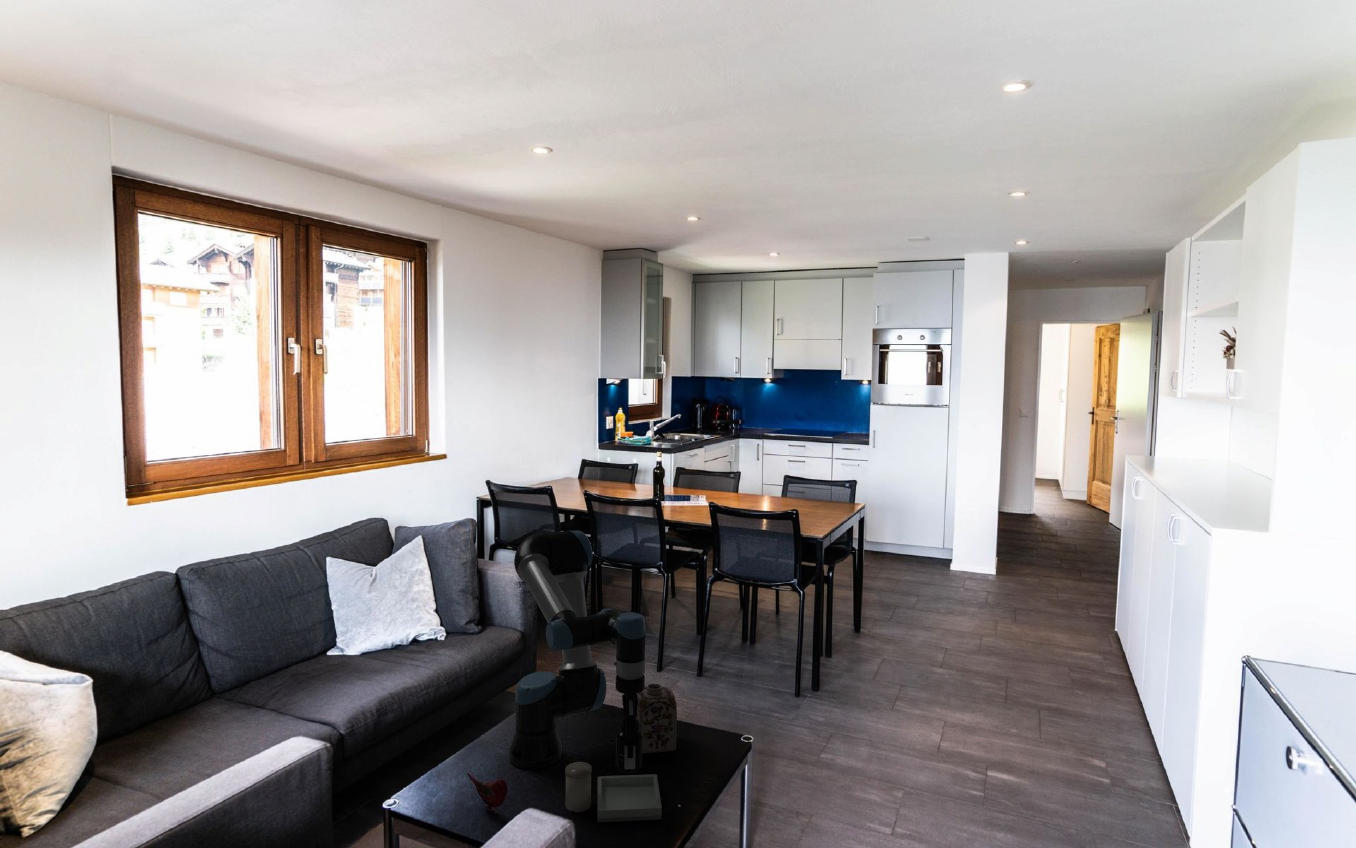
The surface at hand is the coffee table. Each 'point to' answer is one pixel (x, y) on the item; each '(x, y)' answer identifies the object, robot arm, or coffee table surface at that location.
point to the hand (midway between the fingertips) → (629, 761)
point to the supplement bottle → (621, 749)
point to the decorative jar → (657, 719)
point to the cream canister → (578, 786)
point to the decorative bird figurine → (491, 792)
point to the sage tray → (628, 798)
